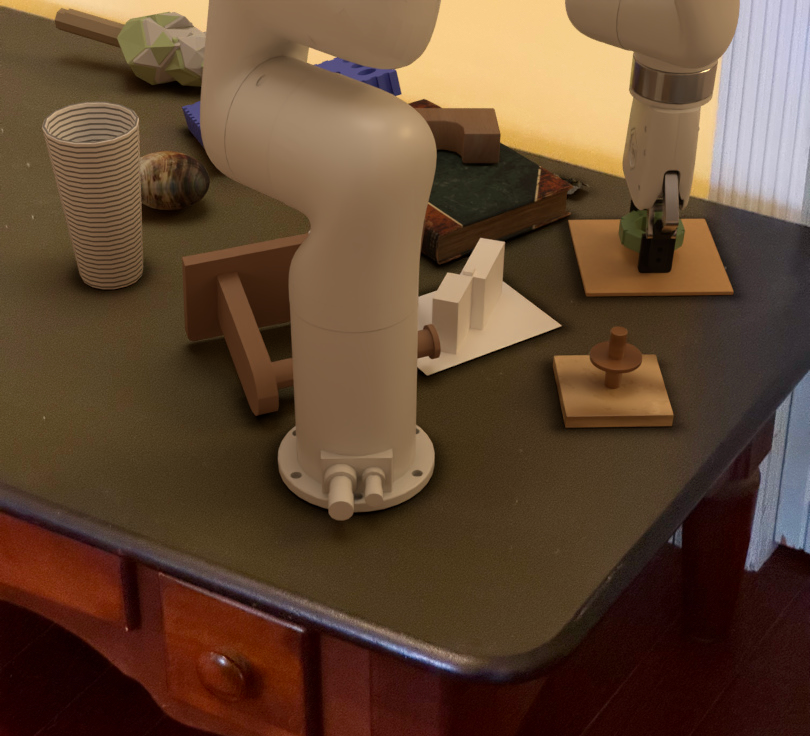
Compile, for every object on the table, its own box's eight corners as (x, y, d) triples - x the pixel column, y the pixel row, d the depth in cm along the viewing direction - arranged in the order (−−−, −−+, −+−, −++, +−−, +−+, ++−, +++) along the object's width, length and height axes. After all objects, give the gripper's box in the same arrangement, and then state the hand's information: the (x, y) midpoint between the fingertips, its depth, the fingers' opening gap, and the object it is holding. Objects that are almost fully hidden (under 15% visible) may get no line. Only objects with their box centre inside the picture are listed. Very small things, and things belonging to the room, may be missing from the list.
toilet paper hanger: (226, 453, 123) (226, 381, 114) (185, 334, 129) (181, 257, 120) (460, 399, 128) (477, 327, 120) (410, 287, 134) (422, 211, 126)
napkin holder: (489, 271, 139) (492, 217, 135) (563, 325, 132) (568, 270, 128) (358, 317, 133) (357, 262, 129) (428, 376, 126) (430, 320, 122)
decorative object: (86, 35, 178) (264, 88, 172) (40, 68, 172) (224, 124, 166) (78, -35, 172) (264, 18, 166) (31, -3, 166) (222, 53, 159)
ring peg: (671, 426, 121) (682, 360, 117) (565, 428, 121) (572, 362, 116) (653, 365, 128) (663, 301, 123) (552, 366, 127) (558, 302, 123)
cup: (83, 247, 142) (60, 97, 132) (167, 255, 141) (150, 104, 131) (54, 293, 136) (27, 139, 125) (142, 301, 135) (122, 146, 124)
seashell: (154, 198, 153) (107, 213, 146) (149, 142, 150) (100, 156, 144) (229, 204, 149) (184, 221, 142) (225, 148, 146) (178, 162, 140)
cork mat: (733, 294, 137) (733, 291, 136) (586, 296, 136) (586, 293, 136) (704, 221, 147) (704, 218, 147) (567, 223, 147) (568, 219, 146)
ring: (686, 254, 138) (689, 239, 137) (624, 255, 138) (626, 240, 137) (675, 223, 143) (677, 209, 142) (615, 224, 143) (617, 209, 142)
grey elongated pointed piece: (575, 199, 149) (590, 208, 152) (583, 177, 149) (597, 186, 151) (530, 189, 153) (546, 198, 155) (538, 168, 153) (553, 177, 155)
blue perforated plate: (323, 39, 170) (328, 61, 172) (144, 110, 162) (151, 132, 163) (439, 66, 151) (444, 90, 153) (243, 147, 143) (250, 172, 144)
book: (572, 217, 147) (425, 127, 162) (575, 184, 145) (426, 96, 160) (436, 267, 140) (295, 168, 155) (437, 234, 137) (294, 137, 152)
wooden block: (492, 137, 153) (351, 137, 152) (494, 107, 151) (350, 107, 150) (499, 163, 148) (352, 164, 147) (501, 133, 146) (352, 133, 145)
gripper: (616, 38, 136) (597, 211, 148) (647, 119, 123) (623, 301, 135) (695, 38, 136) (670, 210, 148) (734, 118, 123) (703, 300, 135)
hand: (648, 252), depth 141 cm, fingers closed on ring, 5 cm apart
